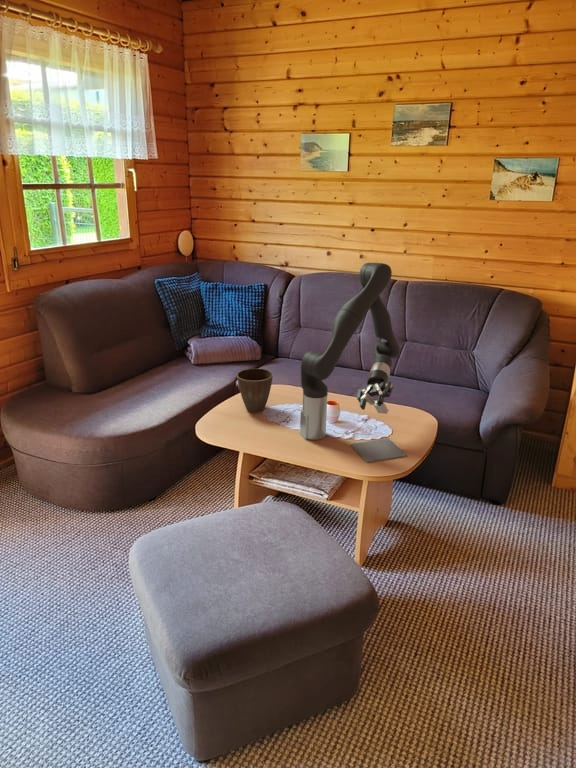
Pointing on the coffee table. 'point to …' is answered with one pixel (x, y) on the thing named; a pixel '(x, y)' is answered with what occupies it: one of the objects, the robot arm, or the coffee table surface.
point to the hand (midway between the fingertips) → (370, 406)
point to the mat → (378, 450)
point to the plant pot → (255, 388)
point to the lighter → (376, 405)
